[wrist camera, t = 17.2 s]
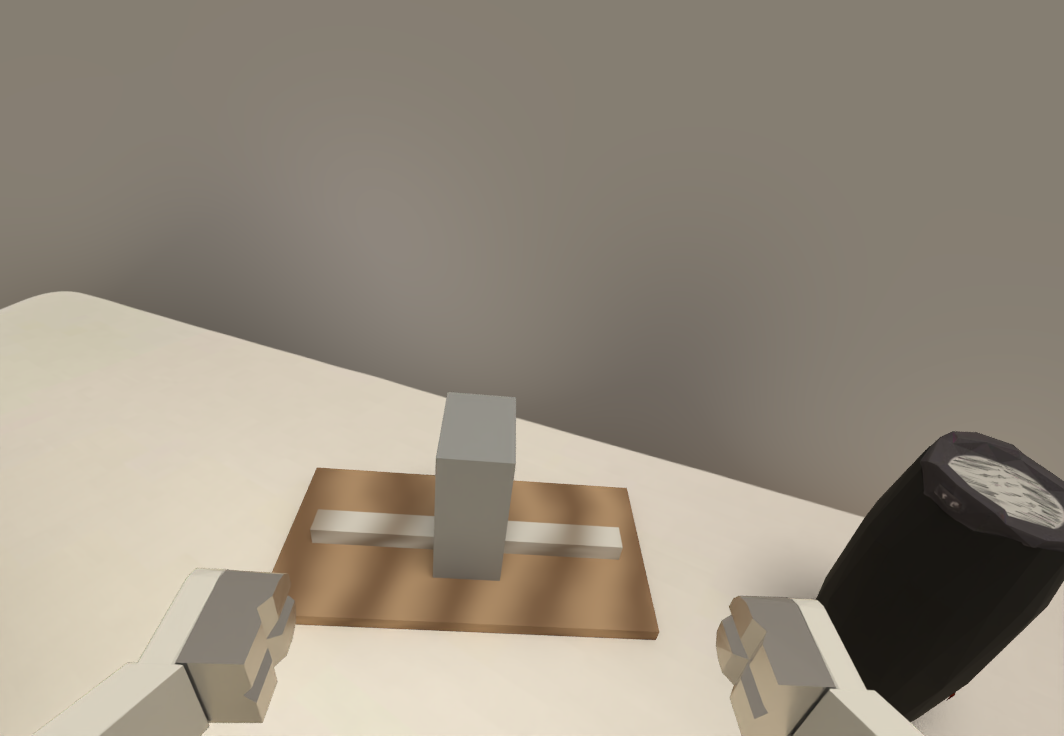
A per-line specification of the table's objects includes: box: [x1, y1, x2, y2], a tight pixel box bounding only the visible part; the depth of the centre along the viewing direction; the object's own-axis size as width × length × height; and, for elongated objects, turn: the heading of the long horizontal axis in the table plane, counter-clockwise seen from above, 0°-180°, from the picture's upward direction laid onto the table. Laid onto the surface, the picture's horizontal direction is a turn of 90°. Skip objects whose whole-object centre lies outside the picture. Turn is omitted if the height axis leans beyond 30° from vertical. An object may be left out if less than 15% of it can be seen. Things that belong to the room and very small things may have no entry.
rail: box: [272, 468, 659, 640], centre depth 44 cm, size 28×14×2 cm, turn 91°
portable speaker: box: [816, 431, 1064, 722], centre depth 34 cm, size 9×9×20 cm
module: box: [433, 392, 516, 581], centre depth 41 cm, size 5×7×12 cm
